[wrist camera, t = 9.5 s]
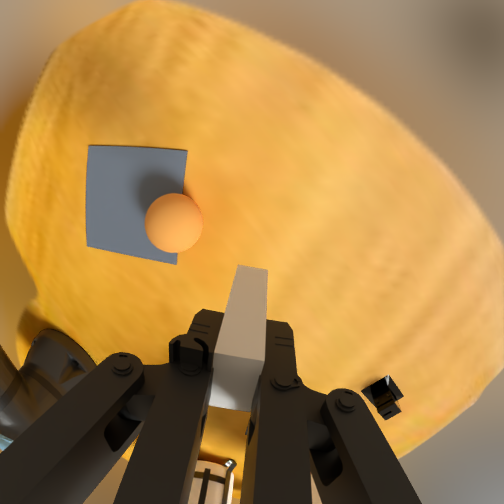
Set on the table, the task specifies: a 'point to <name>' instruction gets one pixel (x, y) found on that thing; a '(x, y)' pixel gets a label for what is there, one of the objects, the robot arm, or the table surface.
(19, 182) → the table surface
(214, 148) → the table surface
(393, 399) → the black recessed block
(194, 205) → the ball
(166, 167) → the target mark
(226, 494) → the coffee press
